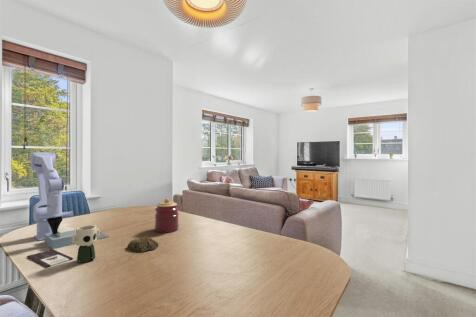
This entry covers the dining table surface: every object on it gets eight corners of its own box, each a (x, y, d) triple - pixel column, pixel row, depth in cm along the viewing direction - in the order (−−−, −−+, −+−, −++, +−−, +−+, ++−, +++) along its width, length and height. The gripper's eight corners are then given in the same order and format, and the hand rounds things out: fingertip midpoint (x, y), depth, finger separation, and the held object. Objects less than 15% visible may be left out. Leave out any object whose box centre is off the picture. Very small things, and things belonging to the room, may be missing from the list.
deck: (44, 242, 119) (44, 233, 119) (71, 236, 128) (71, 228, 128) (52, 249, 110) (52, 240, 110) (80, 242, 119) (80, 234, 119)
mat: (71, 235, 129) (71, 235, 129) (96, 230, 138) (96, 230, 138) (82, 242, 118) (82, 242, 118) (108, 236, 128) (108, 236, 128)
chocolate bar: (52, 249, 109) (72, 258, 100) (52, 251, 109) (73, 260, 100) (26, 256, 101) (46, 266, 92) (26, 258, 101) (46, 269, 92)
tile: (54, 233, 120) (54, 229, 120) (69, 230, 125) (69, 226, 125) (60, 237, 114) (60, 232, 114) (74, 234, 119) (75, 230, 119)
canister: (183, 228, 143) (183, 197, 143) (165, 234, 132) (165, 201, 132) (167, 225, 150) (167, 195, 150) (149, 230, 139) (149, 198, 139)
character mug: (77, 267, 92) (77, 232, 92) (66, 263, 96) (66, 229, 96) (104, 256, 102) (104, 225, 102) (93, 253, 105) (93, 223, 105)
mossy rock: (124, 247, 113) (124, 237, 113) (149, 241, 122) (149, 231, 122) (137, 255, 104) (137, 243, 104) (163, 247, 114) (163, 236, 113)
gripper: (36, 208, 108) (36, 239, 109) (75, 203, 119) (75, 231, 120) (33, 206, 113) (33, 236, 113) (70, 201, 124) (70, 229, 124)
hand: (54, 233), depth 117 cm, fingers closed
